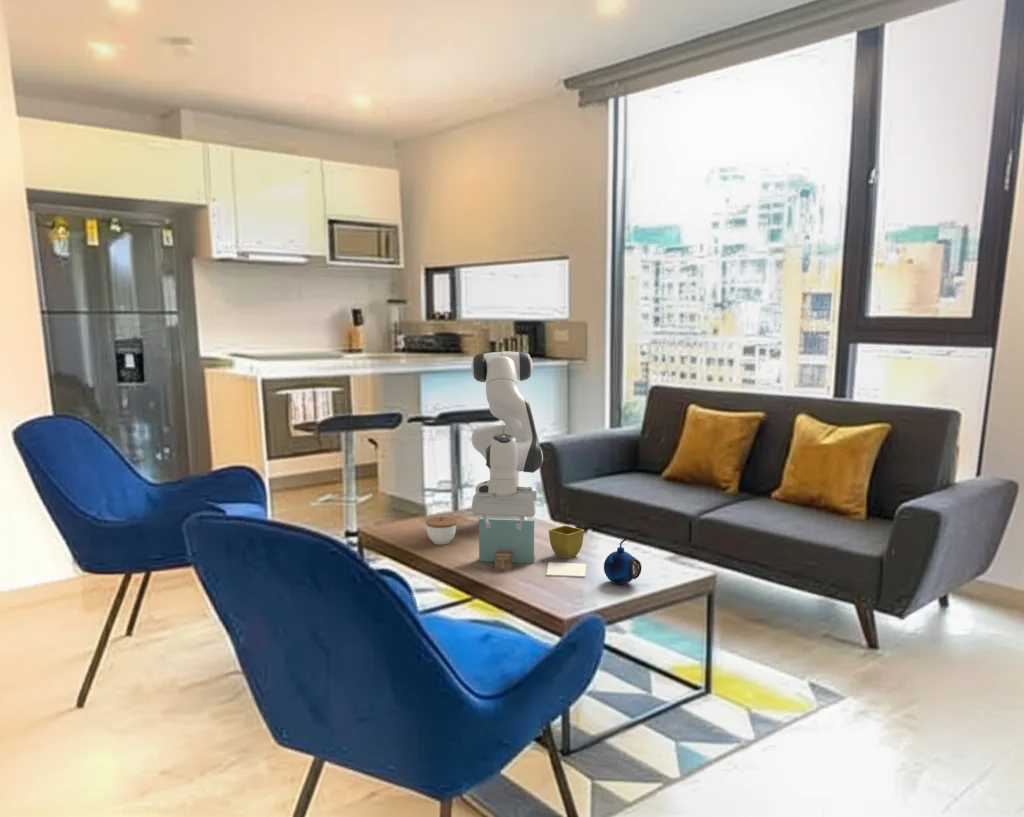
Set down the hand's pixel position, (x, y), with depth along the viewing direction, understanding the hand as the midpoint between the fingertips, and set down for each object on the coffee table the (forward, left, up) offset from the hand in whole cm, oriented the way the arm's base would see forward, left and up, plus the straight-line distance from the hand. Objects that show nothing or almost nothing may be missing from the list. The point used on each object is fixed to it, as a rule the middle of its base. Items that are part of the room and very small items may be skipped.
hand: (503, 529), depth 232 cm
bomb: (+10, +37, -13) cm, 40 cm away
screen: (-8, 0, -13) cm, 15 cm away
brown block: (0, 0, -13) cm, 13 cm away
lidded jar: (-25, -26, -13) cm, 38 cm away
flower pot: (-15, +19, -13) cm, 28 cm away
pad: (0, +20, -13) cm, 24 cm away
